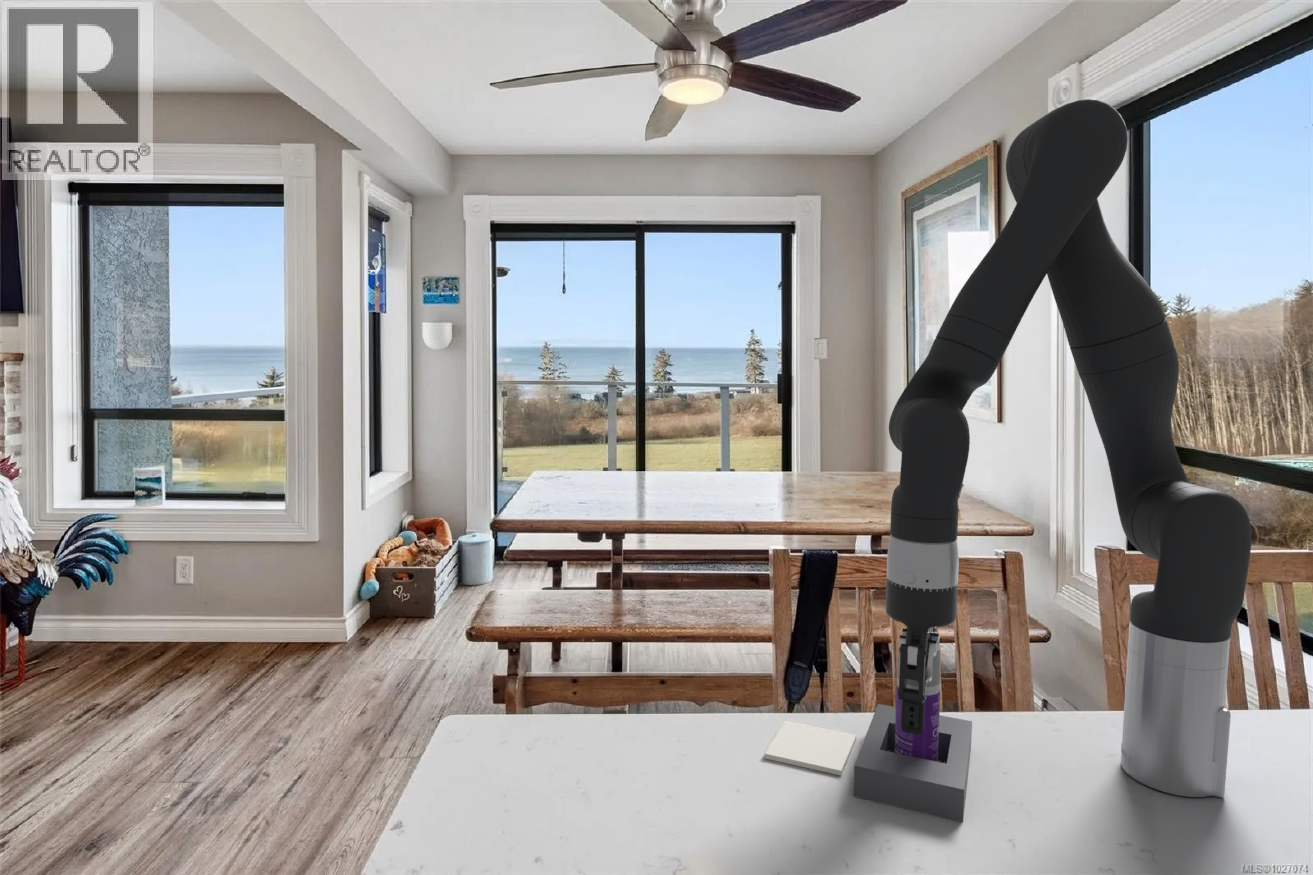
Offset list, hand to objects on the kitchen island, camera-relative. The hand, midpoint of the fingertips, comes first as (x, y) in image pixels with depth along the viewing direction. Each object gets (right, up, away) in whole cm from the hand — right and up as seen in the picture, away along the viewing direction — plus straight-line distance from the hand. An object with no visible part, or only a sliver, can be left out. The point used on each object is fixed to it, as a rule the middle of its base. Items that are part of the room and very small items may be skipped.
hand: (916, 715), depth 86 cm
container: (0, -7, +1) cm, 7 cm away
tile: (-11, -6, +6) cm, 14 cm away
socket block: (0, -7, +1) cm, 7 cm away
